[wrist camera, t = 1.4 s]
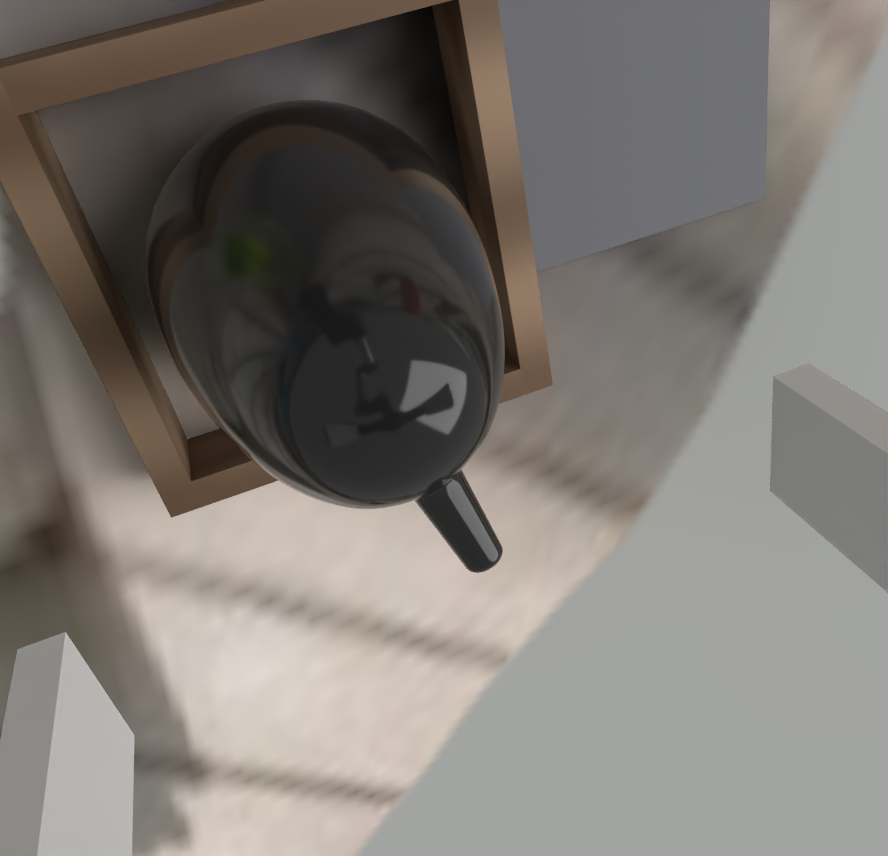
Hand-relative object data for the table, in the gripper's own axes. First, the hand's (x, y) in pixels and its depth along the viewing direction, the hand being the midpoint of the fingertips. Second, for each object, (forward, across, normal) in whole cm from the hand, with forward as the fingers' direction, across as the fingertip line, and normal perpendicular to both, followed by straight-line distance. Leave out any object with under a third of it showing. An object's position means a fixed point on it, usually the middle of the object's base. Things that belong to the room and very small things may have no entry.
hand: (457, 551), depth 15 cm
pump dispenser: (+18, 0, 0) cm, 18 cm away
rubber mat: (+18, +14, +2) cm, 23 cm away
